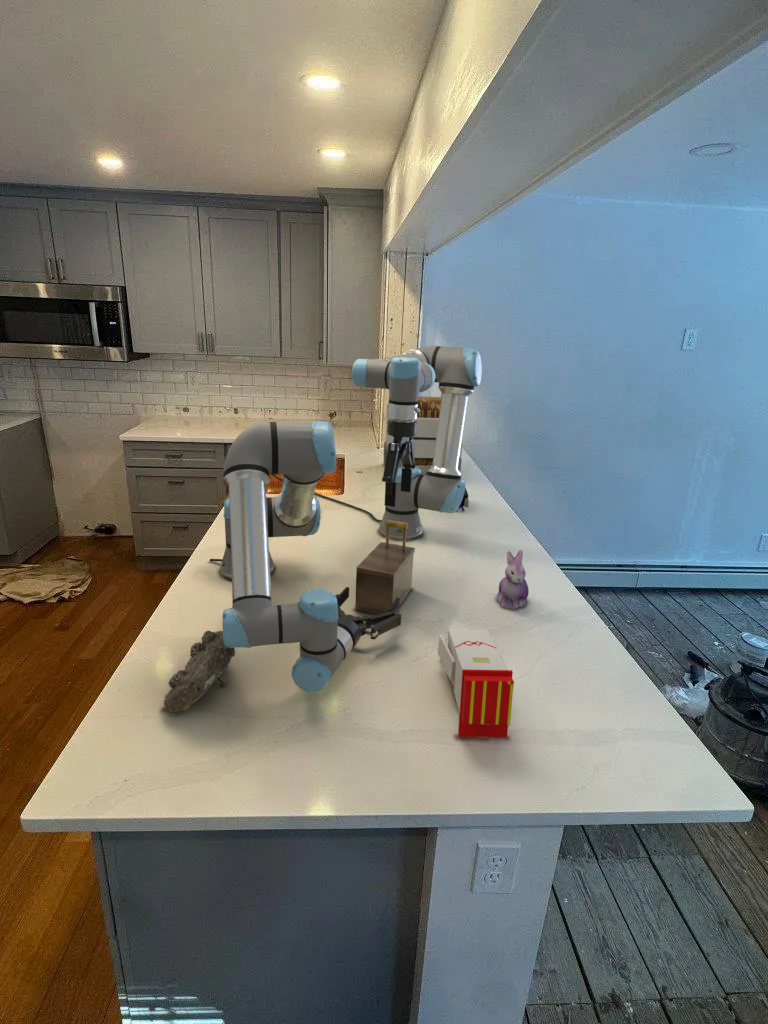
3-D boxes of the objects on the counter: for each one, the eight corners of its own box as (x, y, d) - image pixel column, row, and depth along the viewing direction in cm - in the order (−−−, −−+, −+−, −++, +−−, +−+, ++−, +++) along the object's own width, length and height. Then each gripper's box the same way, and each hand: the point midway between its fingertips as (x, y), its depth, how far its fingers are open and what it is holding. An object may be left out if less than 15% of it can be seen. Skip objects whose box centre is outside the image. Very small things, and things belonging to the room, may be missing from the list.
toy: (488, 613, 130) (523, 677, 101) (484, 667, 133) (517, 744, 104) (435, 612, 130) (455, 676, 101) (432, 666, 133) (451, 743, 103)
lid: (380, 545, 161) (382, 516, 158) (414, 551, 158) (416, 521, 155) (356, 571, 145) (357, 539, 142) (393, 579, 142) (395, 545, 139)
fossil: (188, 633, 127) (235, 602, 122) (218, 661, 130) (265, 632, 125) (141, 705, 107) (195, 672, 102) (177, 737, 110) (232, 706, 105)
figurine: (511, 613, 150) (518, 561, 145) (487, 596, 158) (493, 547, 153) (538, 606, 154) (546, 556, 149) (513, 590, 163) (520, 542, 157)
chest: (378, 582, 164) (379, 547, 160) (411, 588, 161) (413, 553, 157) (355, 609, 149) (356, 571, 145) (391, 617, 146) (393, 579, 142)
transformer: (382, 463, 289) (386, 382, 275) (445, 464, 293) (451, 384, 279) (390, 482, 257) (394, 392, 243) (460, 483, 261) (468, 394, 247)
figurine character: (468, 516, 224) (463, 500, 237) (471, 498, 221) (465, 483, 234) (452, 515, 224) (447, 499, 237) (453, 498, 220) (449, 482, 234)
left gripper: (287, 641, 129) (327, 600, 148) (391, 667, 122) (419, 620, 141) (287, 612, 127) (327, 574, 146) (392, 637, 119) (420, 593, 138)
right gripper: (401, 430, 133) (396, 514, 140) (429, 413, 155) (424, 487, 163) (371, 426, 135) (368, 510, 143) (403, 411, 158) (399, 484, 165)
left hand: (372, 596), depth 143 cm, fingers open, 13 cm apart
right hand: (398, 498), depth 153 cm, fingers open, 13 cm apart
